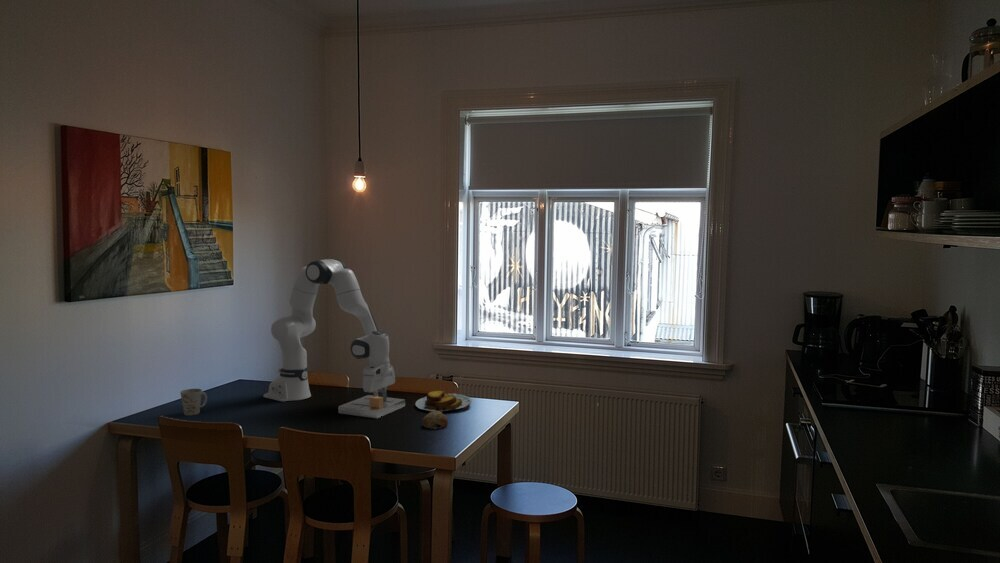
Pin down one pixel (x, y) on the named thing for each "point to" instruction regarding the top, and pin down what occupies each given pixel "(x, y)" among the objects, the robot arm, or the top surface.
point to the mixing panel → (363, 407)
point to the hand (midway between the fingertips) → (379, 397)
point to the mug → (192, 401)
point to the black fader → (382, 394)
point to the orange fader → (376, 401)
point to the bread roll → (435, 420)
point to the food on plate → (442, 401)
